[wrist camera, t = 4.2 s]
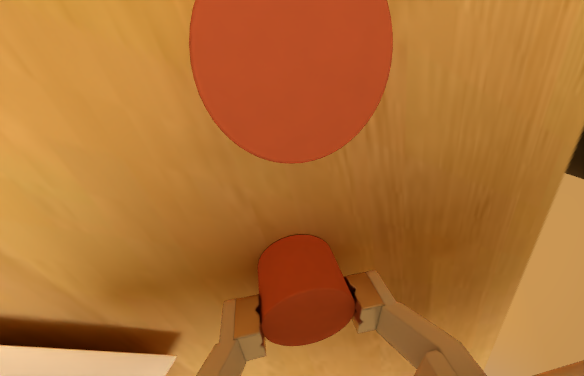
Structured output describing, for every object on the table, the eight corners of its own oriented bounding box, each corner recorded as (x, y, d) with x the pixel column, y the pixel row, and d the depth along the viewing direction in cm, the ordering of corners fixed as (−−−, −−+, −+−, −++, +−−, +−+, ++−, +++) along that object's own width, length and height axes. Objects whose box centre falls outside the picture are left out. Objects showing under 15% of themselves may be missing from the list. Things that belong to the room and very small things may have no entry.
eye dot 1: (342, -17, 6) (415, -82, 3) (336, 126, 8) (378, 154, 5) (195, -14, 5) (149, -86, 3) (228, 138, 7) (218, 175, 5)
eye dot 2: (332, 227, 10) (360, 279, 8) (330, 279, 12) (351, 334, 10) (252, 241, 10) (253, 302, 7) (263, 293, 12) (267, 355, 9)
